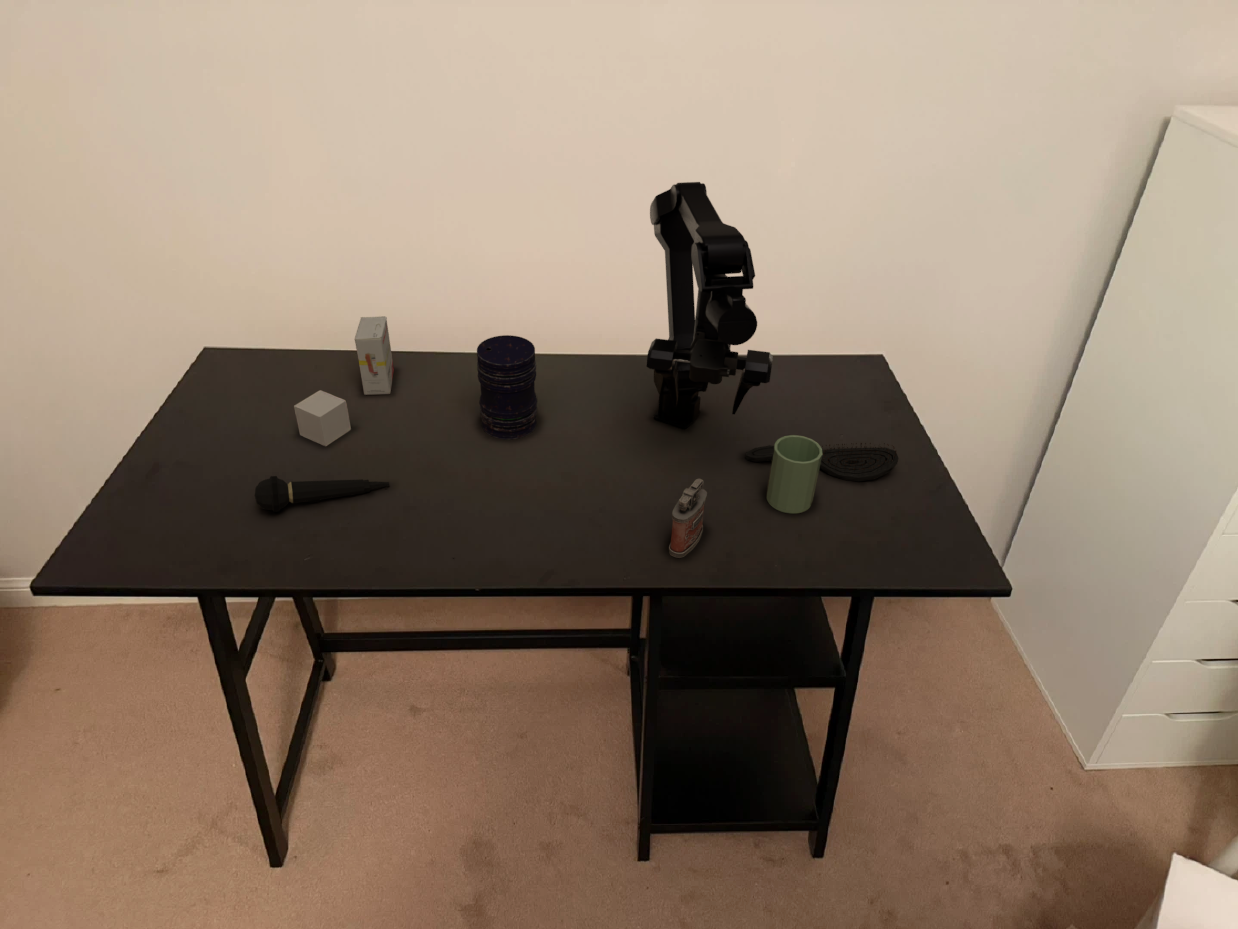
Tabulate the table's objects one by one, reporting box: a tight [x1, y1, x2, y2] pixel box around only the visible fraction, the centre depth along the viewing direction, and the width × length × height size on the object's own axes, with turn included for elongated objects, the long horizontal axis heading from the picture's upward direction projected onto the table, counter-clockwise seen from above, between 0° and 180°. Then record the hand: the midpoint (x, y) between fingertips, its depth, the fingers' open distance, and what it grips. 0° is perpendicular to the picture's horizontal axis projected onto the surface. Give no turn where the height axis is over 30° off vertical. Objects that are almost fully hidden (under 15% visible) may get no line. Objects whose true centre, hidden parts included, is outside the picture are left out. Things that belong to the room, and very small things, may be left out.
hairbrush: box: [745, 442, 899, 482], centre depth 156 cm, size 8×4×25 cm
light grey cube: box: [293, 389, 352, 447], centre depth 158 cm, size 6×6×6 cm
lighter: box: [668, 478, 708, 559], centre depth 137 cm, size 8×3×10 cm, turn 150°
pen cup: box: [765, 434, 823, 515], centre depth 146 cm, size 7×7×10 cm
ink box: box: [354, 315, 395, 396], centre depth 169 cm, size 9×5×12 cm, turn 5°
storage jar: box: [476, 334, 538, 440], centre depth 159 cm, size 10×10×15 cm
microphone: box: [254, 475, 390, 513], centre depth 144 cm, size 6×6×20 cm
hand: (704, 409), depth 146 cm, fingers open, 9 cm apart
